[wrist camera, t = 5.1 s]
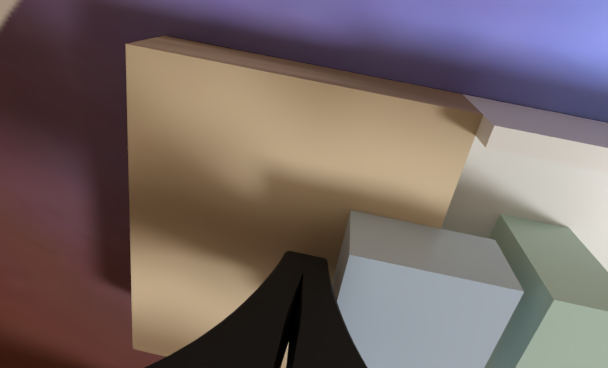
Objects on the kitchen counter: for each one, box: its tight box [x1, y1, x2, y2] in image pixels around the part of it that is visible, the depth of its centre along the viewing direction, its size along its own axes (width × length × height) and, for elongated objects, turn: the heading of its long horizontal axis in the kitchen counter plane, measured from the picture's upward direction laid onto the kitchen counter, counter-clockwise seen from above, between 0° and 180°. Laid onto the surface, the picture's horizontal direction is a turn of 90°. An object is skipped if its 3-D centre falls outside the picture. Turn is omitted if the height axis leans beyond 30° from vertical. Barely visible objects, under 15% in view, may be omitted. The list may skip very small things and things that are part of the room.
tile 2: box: [332, 210, 524, 368], centre depth 12 cm, size 4×4×2 cm
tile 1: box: [484, 214, 608, 368], centre depth 13 cm, size 4×4×2 cm
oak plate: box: [126, 36, 483, 368], centre depth 15 cm, size 12×10×2 cm
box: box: [441, 94, 608, 271], centre depth 14 cm, size 12×12×4 cm
